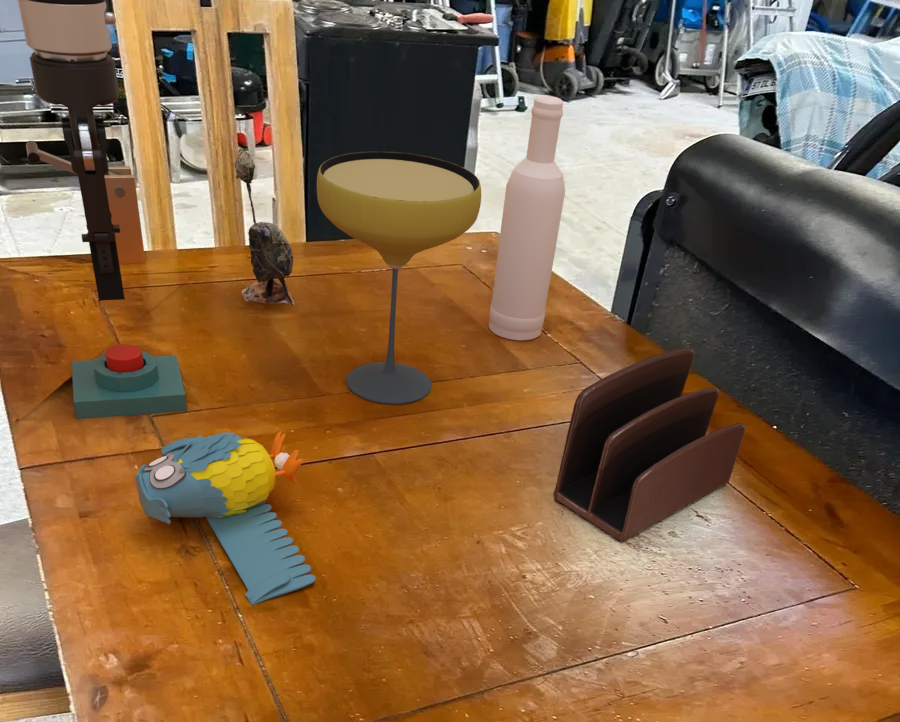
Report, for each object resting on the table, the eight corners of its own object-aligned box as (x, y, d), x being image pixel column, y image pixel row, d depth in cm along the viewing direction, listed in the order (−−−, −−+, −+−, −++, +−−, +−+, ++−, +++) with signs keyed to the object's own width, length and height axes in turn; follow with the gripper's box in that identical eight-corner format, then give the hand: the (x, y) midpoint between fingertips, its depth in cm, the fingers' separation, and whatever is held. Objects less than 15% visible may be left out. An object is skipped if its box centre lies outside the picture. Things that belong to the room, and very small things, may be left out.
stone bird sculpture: (255, 323, 122) (248, 169, 109) (230, 291, 129) (220, 143, 116) (311, 317, 125) (310, 166, 112) (283, 286, 133) (279, 141, 120)
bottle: (525, 346, 125) (563, 109, 105) (477, 330, 127) (506, 96, 108) (551, 329, 130) (591, 100, 111) (504, 313, 133) (535, 87, 113)
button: (108, 375, 100) (105, 361, 99) (106, 359, 103) (104, 345, 102) (145, 373, 102) (143, 359, 100) (142, 357, 104) (140, 343, 103)
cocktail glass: (486, 382, 115) (512, 179, 99) (405, 436, 103) (420, 214, 87) (375, 339, 122) (383, 141, 106) (287, 384, 110) (281, 170, 94)
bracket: (89, 284, 127) (72, 182, 118) (84, 261, 133) (66, 162, 124) (176, 280, 131) (165, 181, 122) (166, 257, 137) (155, 161, 128)
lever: (25, 165, 116) (30, 146, 115) (23, 152, 120) (28, 135, 119) (127, 204, 123) (132, 187, 122) (122, 191, 127) (127, 175, 126)
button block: (77, 419, 99) (70, 387, 97) (75, 377, 106) (68, 346, 104) (187, 411, 103) (183, 379, 100) (178, 371, 110) (174, 341, 107)
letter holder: (551, 499, 96) (575, 381, 87) (661, 446, 107) (692, 336, 98) (621, 545, 91) (655, 424, 82) (729, 484, 102) (769, 371, 93)
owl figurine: (352, 500, 77) (181, 544, 71) (352, 576, 83) (193, 623, 77) (240, 361, 95) (95, 387, 89) (247, 432, 101) (110, 461, 94)
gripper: (117, 69, 80) (151, 320, 95) (110, 40, 89) (142, 273, 104) (27, 66, 77) (77, 323, 93) (29, 37, 87) (74, 276, 102)
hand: (111, 297), depth 99 cm, fingers closed
